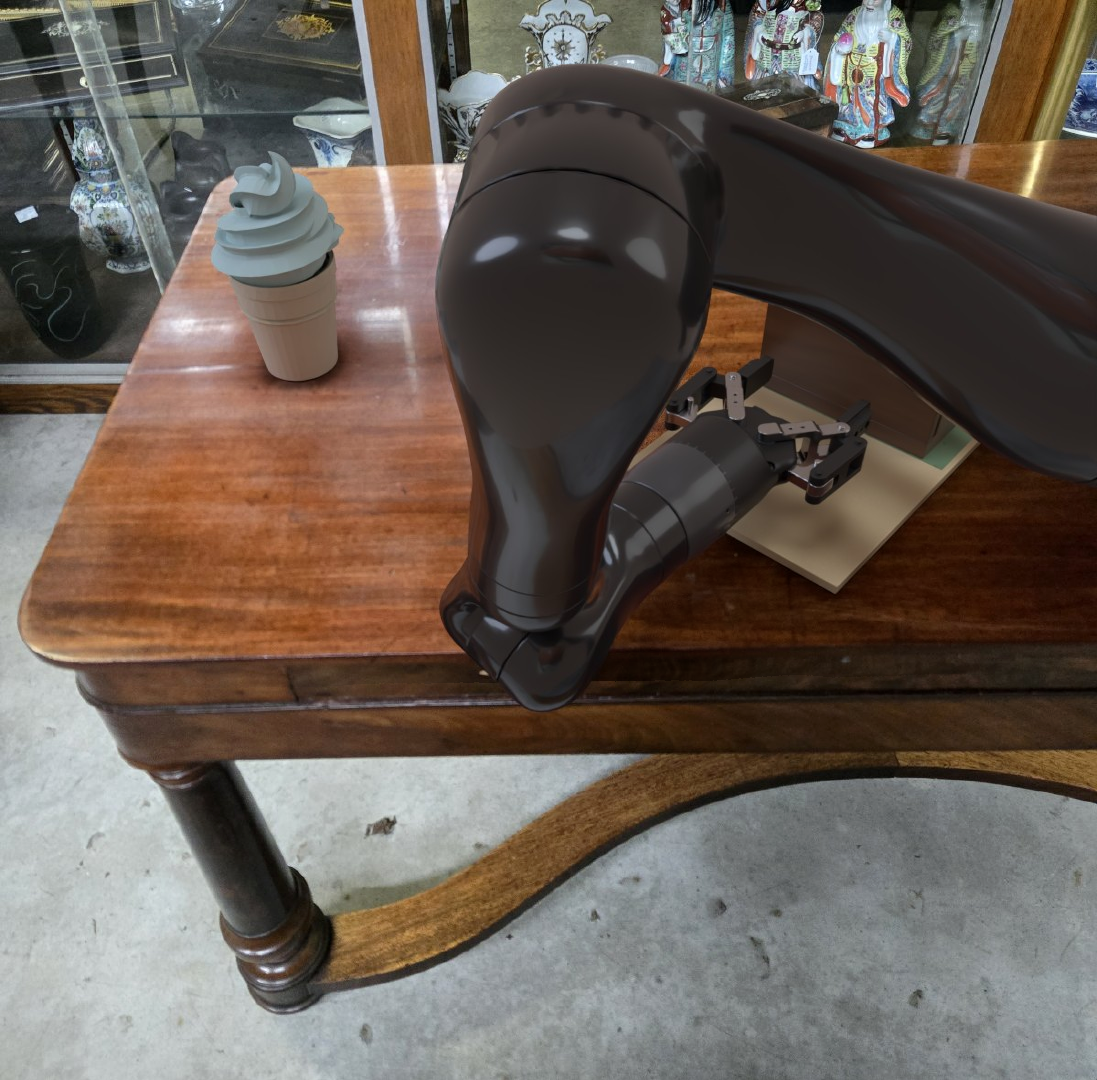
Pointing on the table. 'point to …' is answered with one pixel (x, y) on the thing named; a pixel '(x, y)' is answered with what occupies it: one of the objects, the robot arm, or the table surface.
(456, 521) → the table surface
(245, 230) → the ice cream cone
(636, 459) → the board
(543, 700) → the robot arm
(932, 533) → the table surface
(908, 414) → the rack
